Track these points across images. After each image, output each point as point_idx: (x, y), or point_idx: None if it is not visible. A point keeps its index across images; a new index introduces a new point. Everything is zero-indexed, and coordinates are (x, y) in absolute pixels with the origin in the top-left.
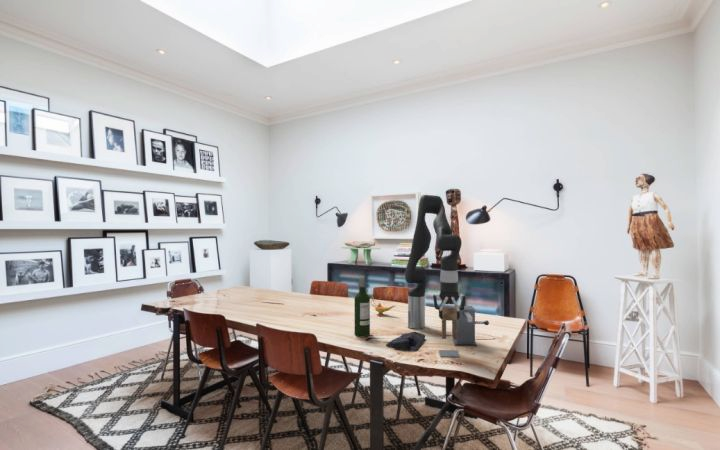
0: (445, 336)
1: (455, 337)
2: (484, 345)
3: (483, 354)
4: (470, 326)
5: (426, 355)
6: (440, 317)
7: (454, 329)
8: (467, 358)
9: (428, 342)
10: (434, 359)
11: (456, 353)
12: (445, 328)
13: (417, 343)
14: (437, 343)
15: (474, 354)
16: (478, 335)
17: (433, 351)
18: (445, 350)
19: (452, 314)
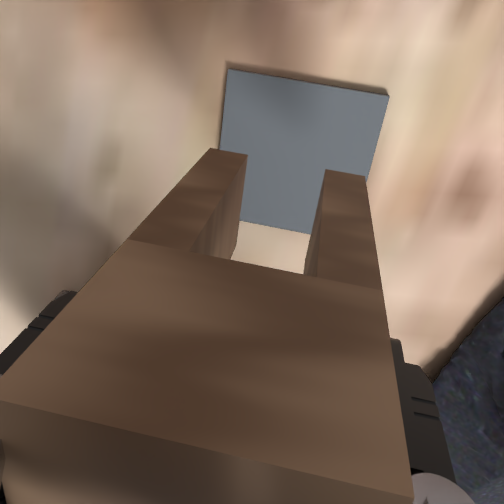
0: (333, 179)
1: (220, 156)
2: (17, 301)
3: (40, 138)
4: None
5: (500, 142)
6: (404, 367)
7: (208, 191)
8: (171, 53)
9: None
10: (470, 35)
11: (236, 152)
12: (331, 217)
13: (498, 344)
14: None
15: (103, 142)
16: None
17: (400, 227)
18: (304, 222)
19: (165, 322)
